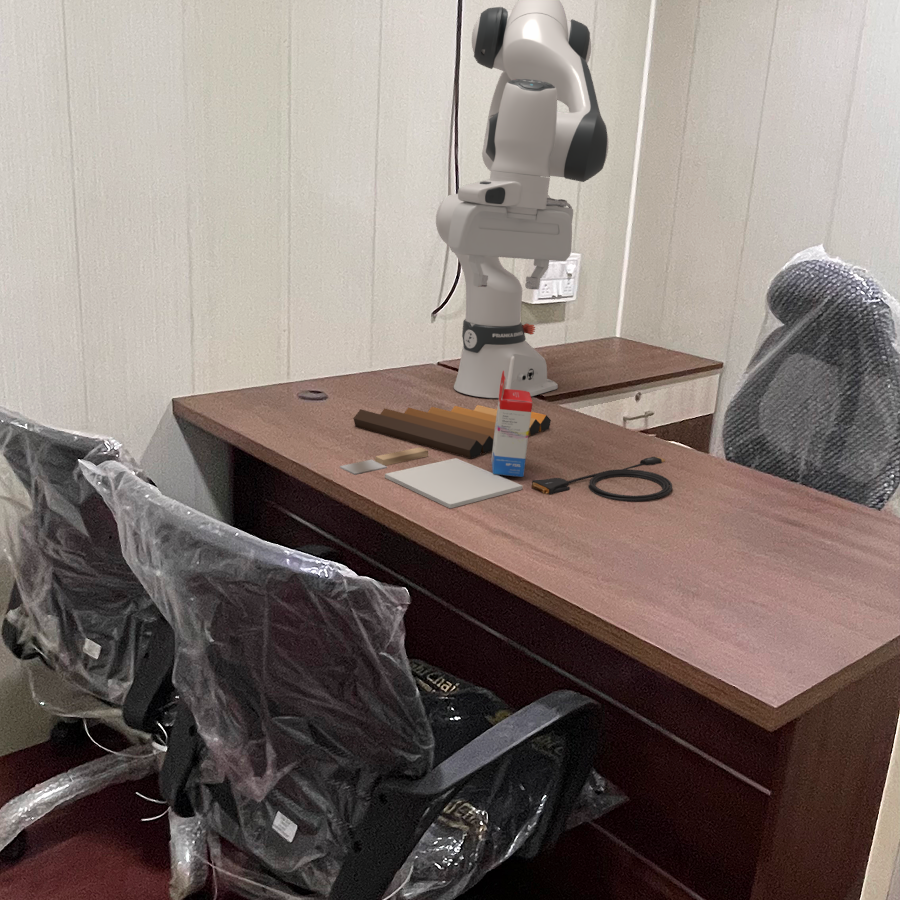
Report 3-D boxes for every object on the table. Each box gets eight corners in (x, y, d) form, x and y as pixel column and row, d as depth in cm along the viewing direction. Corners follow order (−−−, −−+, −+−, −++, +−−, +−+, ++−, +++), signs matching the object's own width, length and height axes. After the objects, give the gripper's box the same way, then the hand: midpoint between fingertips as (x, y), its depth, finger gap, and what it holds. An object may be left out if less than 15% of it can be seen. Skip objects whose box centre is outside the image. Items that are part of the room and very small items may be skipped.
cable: (722, 486, 148) (723, 477, 148) (592, 520, 132) (593, 510, 131) (656, 461, 158) (657, 452, 158) (527, 490, 142) (528, 480, 142)
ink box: (524, 478, 144) (536, 382, 141) (491, 474, 144) (503, 379, 140) (520, 462, 153) (532, 372, 149) (490, 459, 153) (501, 369, 149)
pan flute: (353, 429, 167) (468, 462, 153) (353, 411, 166) (470, 442, 152) (440, 404, 186) (550, 431, 172) (440, 387, 185) (551, 413, 171)
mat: (455, 461, 152) (456, 458, 151) (522, 489, 141) (522, 485, 141) (384, 477, 143) (384, 473, 143) (450, 508, 132) (450, 504, 132)
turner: (416, 452, 156) (416, 445, 155) (432, 459, 153) (432, 452, 152) (339, 468, 146) (339, 461, 146) (354, 476, 143) (354, 468, 143)
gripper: (562, 199, 150) (550, 287, 154) (448, 186, 140) (438, 281, 144) (586, 202, 145) (573, 293, 149) (470, 189, 135) (459, 288, 139)
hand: (506, 287), depth 146 cm, fingers open, 8 cm apart
